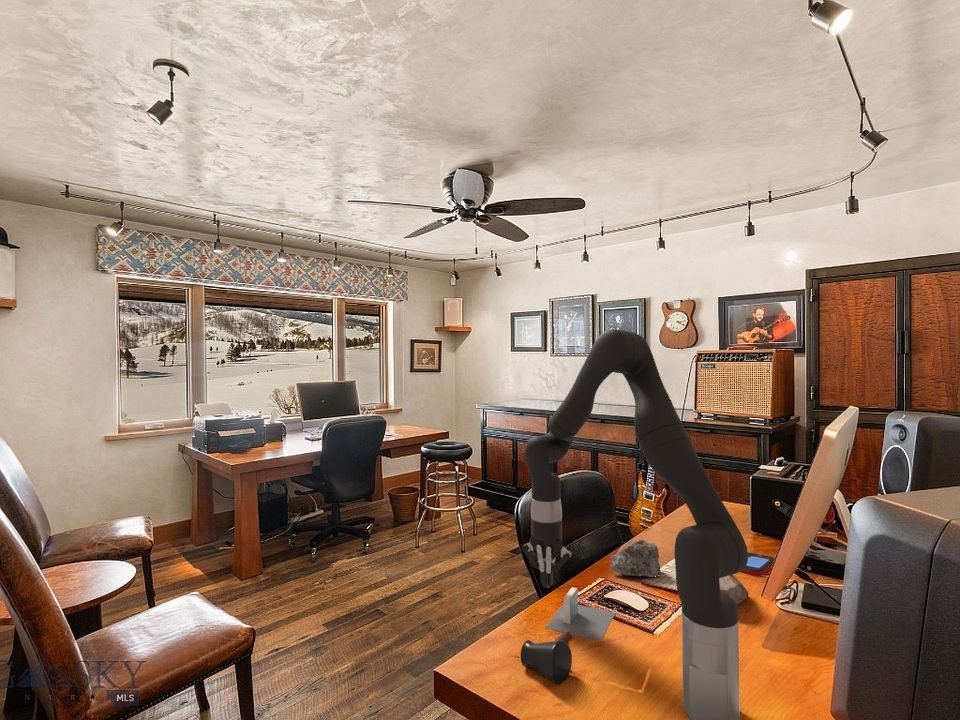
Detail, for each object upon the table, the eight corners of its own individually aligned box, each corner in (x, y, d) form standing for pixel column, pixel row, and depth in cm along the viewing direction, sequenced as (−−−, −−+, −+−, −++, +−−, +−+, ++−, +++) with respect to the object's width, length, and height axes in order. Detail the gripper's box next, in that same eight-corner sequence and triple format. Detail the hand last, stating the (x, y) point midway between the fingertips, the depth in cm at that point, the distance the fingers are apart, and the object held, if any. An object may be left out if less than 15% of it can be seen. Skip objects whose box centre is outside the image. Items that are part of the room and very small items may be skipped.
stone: (722, 622, 123) (754, 593, 123) (693, 590, 128) (724, 563, 128) (721, 619, 136) (750, 593, 136) (695, 590, 140) (722, 565, 140)
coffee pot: (553, 690, 98) (517, 679, 104) (600, 660, 112) (566, 652, 117) (550, 647, 100) (515, 639, 105) (597, 622, 113) (563, 616, 119)
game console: (734, 553, 165) (734, 546, 165) (778, 565, 156) (778, 557, 156) (714, 566, 156) (714, 558, 156) (759, 579, 146) (759, 571, 146)
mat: (600, 643, 114) (600, 641, 114) (545, 629, 120) (545, 627, 120) (615, 614, 127) (615, 612, 127) (564, 603, 133) (564, 601, 133)
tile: (570, 624, 122) (570, 598, 122) (564, 622, 122) (563, 597, 122) (578, 612, 127) (577, 588, 127) (572, 611, 128) (571, 587, 128)
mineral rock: (608, 575, 149) (608, 540, 149) (620, 562, 158) (620, 529, 158) (654, 585, 142) (653, 549, 142) (664, 571, 151) (663, 537, 151)
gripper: (515, 516, 127) (516, 587, 128) (567, 524, 121) (568, 598, 121) (527, 508, 134) (527, 575, 134) (577, 515, 128) (577, 585, 128)
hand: (547, 586), depth 128 cm, fingers closed
